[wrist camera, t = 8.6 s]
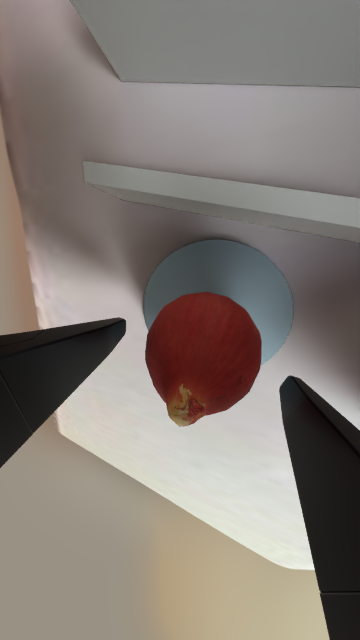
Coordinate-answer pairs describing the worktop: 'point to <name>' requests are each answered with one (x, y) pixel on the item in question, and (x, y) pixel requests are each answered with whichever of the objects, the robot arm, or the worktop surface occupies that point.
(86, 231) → the worktop surface
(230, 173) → the worktop surface
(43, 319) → the worktop surface
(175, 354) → the onion
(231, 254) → the mat
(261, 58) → the low walls
